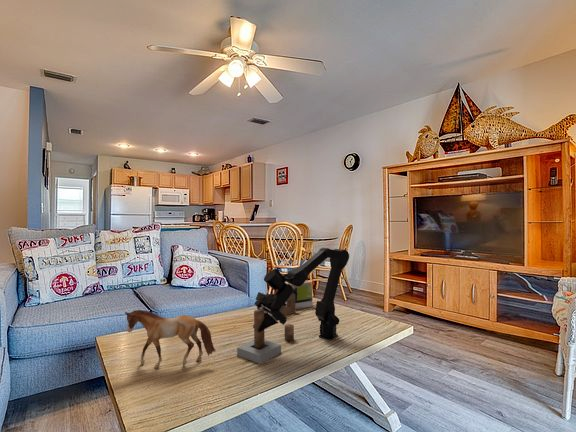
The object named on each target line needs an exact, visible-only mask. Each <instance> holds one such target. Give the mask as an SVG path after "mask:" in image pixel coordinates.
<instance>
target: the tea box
mask: <svg viewBox="0 0 576 432" xmlns="http://www.w3.org/2000/svg"><path fill="white" fill-rule="evenodd" d="M285 283H286V284H289V283H288V282H285ZM290 285H291V286H293V287H295V288H297V294H298V295H295V310H298V309H305V308H312V307H313V282H312V281H309V280H306V281H305V282H304V283H303V284H302V285H301V286H294V285H292V284H290ZM285 304H286V306H285V307H287V302H286V303H285Z"/></svg>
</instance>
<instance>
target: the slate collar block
mask: <svg viewBox="0 0 576 432" xmlns="http://www.w3.org/2000/svg"><path fill="white" fill-rule="evenodd" d="M280 353H282V344H280V343H276V342H274V341H270V340H267V339H265V347H264V348H263V349H255V348H254V339H253V340H250V341H248V342H246V343H243V344H241V345H239V346H237V347H236V355H237V356H238V357H241V358H243V359H246V360H249V361H251V362H253V363H257V364H259V365H261V364H263V363H265V362H267V361H268V360H271V359H272V358H273V357H275V356H277V355H279V354H280Z"/></svg>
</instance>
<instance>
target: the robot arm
mask: <svg viewBox="0 0 576 432" xmlns="http://www.w3.org/2000/svg"><path fill="white" fill-rule="evenodd" d="M327 258H328V259H329V263H330V270H329V273H328V274H329V275H328V278H327V282H326V286H325V289H324V292H323V297H322V298H321V300H317V301H316V305H315V308H314V310H315V311H314V314H315V316H316V318H317V319H318V321H319V322H320V324H319V335H318V337H319V338H321V339H326V340H328V341H330V340H331V341H332V340H335V338H337V337H338V336H339V334H338V333H337V325H339V323H340V319H339V317H338V316H337V315H336V314H335V313H336V305H335V297H336V294H337V291H338V286H339V282H340V279H341V274H342V271H343V270H344V268H345V267H346V266H347V265H348V262H349V259H350V254H349V252H348V250H346V249H341V248H334V249H330V248H329V247H321V248H319V250H318V251H316V253H315V254H313V255H312V256H310V258H308V259H307V260H306V261H305V262H304V263H302V265H300V266H297V267H294V268H292V269H291V270H289V271H287V273H285V274H282V273H281V271H280V270H279V269H278V268H273V269H272V270H270V271H268V272H267V273H266V274H265V275H264V277H263V281H264V282H265V283H266V284H267V285H268V286H269V288H271V289H272V290H274V291H275V292H274V293H268V292H267V293H266V294H265V293H262V292H261V291H258V292H257V294H256V297H255V300H256V301H255V302H254V303H253V305H255V307H256V310H264V320H263V322H262V323H261V325H260V327H259V328H258V331H259V332H261V331H263V330H264V331H266V330H267V329H268V328H270V327H272V326H274V325H277V324H279V323H280V324H281V325H283V326H285V325H286V324H287V321H288V320H287V319H288V317H287V315H283V314H282V313H281V312H280V310H281V308H282V307H283V306H286V304H285V303H286V302H287V300H288V299H289V298H290V296H291V295H292V294H294V295H298V294H297V288H293V287H292V286H291V285H290V284H292V285H294V286H301V285H302V284H303V283H304V282H305V281H308V278H309V275H310V274H311V273H312V272H314V270H315V269H317V268H318V267H319V265H321V264H322V263H323V262H325V260H327ZM285 282H288V283H289V284H286V283H285ZM252 327H253V329H254V324H253V326H252Z"/></svg>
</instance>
